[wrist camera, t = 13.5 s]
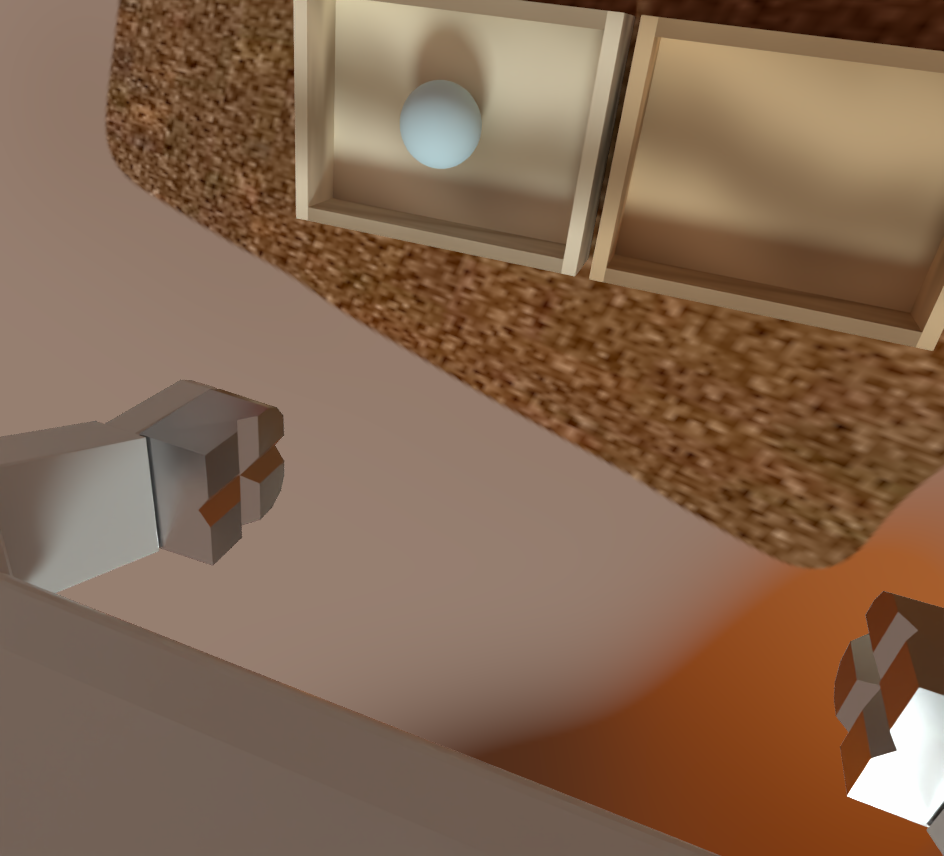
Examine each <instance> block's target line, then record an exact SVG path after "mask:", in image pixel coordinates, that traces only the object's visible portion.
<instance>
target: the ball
mask: <svg viewBox="0 0 944 856" xmlns="http://www.w3.org/2000/svg"><path fill="white" fill-rule="evenodd" d="M481 129H482V120H481V114H480V110H479V108H478V105H477V103H476V102H475V100H474V98H473V97H472V96H471V94H470V93H469V92H468V91H467V90H466V89H464V88H463V87H462V86H460V85H458V84H456V83H454V82H451V81H447V80H433V81H429V82H426V83H424V84H422V85H420V86H419V87H417V88H416V89H415V90H414V91H412V93H411V94H410V95H409V96H408V98H407V99H406V101H405V103H404V105H403V108H402V111H401V115H400V132H401V137H402V140H403V142H404V145H405V146H406V148H407V150H408V151H409V153H410V154H411V155H412V156H413V157H414V158H415V159H416V160H417V161H419V162H420V163H422V164H424V165H426V166H428V167H431V168H437V169H447V168H451V167H454V166H457V165H459V164H461V163H462V162H464V161H465V160H466V159H468V158H469V157H470V155H471V154H472V153H473V152H474V150H475V148H476V147H477V145H478V142H479V139H480V136H481Z"/></svg>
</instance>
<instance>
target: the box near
mask: <svg viewBox="0 0 944 856" xmlns="http://www.w3.org/2000/svg"><path fill="white" fill-rule="evenodd" d="M589 279H591V280H596V281H600V282H605V283H610V284H615V285H620V286H624V287H629V288H634V289H639V290H644V291H648V292H653V293H658V294H663V295H667V296H672V297H677V298H682V299H687V300H691V301H696V302H701V303H706V304H711V305H715V306H720V307H725V308H730V309H735V310H739V311H744V312H749V313H754V314H759V315H763V316H768V317H773V318H778V319H783V320H787V321H792V322H797V323H802V324H806V325H811V326H816V327H821V328H826V329H830V330H835V331H840V332H845V333H850V334H854V335H859V336H864V337H869V338H874V339H878V340H883V341H888V342H893V343H898V344H902V345H907V346H912V347H917V348H922V349H926V350H931V351H933V350H934V348H935V345H936V343H937V341H938V339H939V337H940V335H941V333H942V331H943V328H944V51H936V50H928V49H920V48H911V47H903V46H895V45H886V44H878V43H870V42H862V41H853V40H845V39H837V38H829V37H820V36H812V35H804V34H795V33H787V32H779V31H771V30H762V29H754V28H746V27H738V26H729V25H721V24H713V23H704V22H696V21H688V20H680V19H671V18H663V17H655V16H646V15H641V20H640V25H639V30H638V35H637V40H636V45H635V50H634V55H633V60H632V65H631V70H630V75H629V80H628V85H627V90H626V95H625V100H624V106H623V111H622V116H621V121H620V126H619V131H618V136H617V141H616V146H615V151H614V156H613V161H612V166H611V171H610V176H609V181H608V186H607V191H606V196H605V201H604V206H603V211H602V216H601V221H600V226H599V231H598V236H597V241H596V246H595V251H594V256H593V261H592V266H591V271H590V276H589Z"/></svg>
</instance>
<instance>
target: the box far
mask: <svg viewBox="0 0 944 856" xmlns="http://www.w3.org/2000/svg"><path fill="white" fill-rule="evenodd" d="M634 21H635V16H633V15H630V14H627V13H622V12H613V11H605V10H597V9H589V8H580V7H572V6H564V5H555V4H547V3H539V2H531V1H522V0H294V77H295V159H296V218H298V219H303V220H308V221H313V222H318V223H322V224H327V225H332V226H337V227H342V228H346V229H351V230H356V231H361V232H366V233H370V234H375V235H380V236H385V237H389V238H394V239H399V240H404V241H409V242H413V243H418V244H423V245H428V246H433V247H437V248H442V249H447V250H452V251H457V252H461V253H466V254H471V255H476V256H481V257H485V258H490V259H495V260H500V261H505V262H509V263H514V264H519V265H524V266H528V267H533V268H538V269H543V270H548V271H552V272H557V273H562V274H567V275H572V276H575V275H576V274H577V273H578V272H579V270H580V269H581V268H582V266H583V265H584V264H585V262H586V261H587V260H588V257H589V252H590V246H591V241H592V236H593V231H594V226H595V221H596V216H597V211H598V206H599V200H600V195H601V190H602V185H603V180H604V175H605V170H606V165H607V159H608V154H609V149H610V144H611V139H612V134H613V129H614V124H615V118H616V113H617V108H618V103H619V98H620V93H621V88H622V83H623V78H624V72H625V67H626V62H627V57H628V52H629V47H630V42H631V37H632V31H633V26H634ZM433 80H447V81H451V82H454V83H456V84H458V85H460V86H462V87H463V88H464V89H466V90H467V91H468V92H469V93H470V94H471V96H472V97H473V98H474V100H475V102H476V103H477V105H478V108H479V110H480V114H481V120H482V129H481V136H480V139H479V142H478V145H477V147H476V148H475V150H474V152H473V153H472V154H471V155H470V157H469V158H468V159H466V160H465V161H464V162H462V163H461V164H459V165H457V166H454V167H451V168H447V169H437V168H431V167H428V166H426V165H424V164H422V163H420V162H419V161H417V160H416V159H415V158H414V157H413V156H412V155H411V154H410V153H409V151H408V150H407V148H406V146H405V145H404V142H403V140H402V137H401V132H400V115H401V111H402V108H403V105H404V103H405V101H406V99H407V98H408V96H409V95H410V94H411V93H412V91H414V90H415V89H416V88H417V87H419V86H420V85H422V84H424V83H426V82H429V81H433Z"/></svg>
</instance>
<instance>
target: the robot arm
mask: <svg viewBox="0 0 944 856" xmlns="http://www.w3.org/2000/svg"><path fill="white" fill-rule="evenodd" d="M283 436H284V423H283V414H282V413H281V412H280V411H279V409H278V408H277V407H274V406H270V405H267V404H265V403H261V402H258V401H255V400H252V399H249V398H246V397H243V396H240V395H237V394H234V393H231V392H228V391H225V390H221V389H217V388H215V387H212V386H209V385H205V384H202V383H199V382H195V381H192V380H180V381H178V382H176V383H175V384H173V385H171V386H169V387H167V388H166V389H164V390H162V391H160V392H159V393H157V394H155V395H154V396H152V397H150V398H148V399H147V400H145V401H143V402H141V403H140V404H138V405H136V406H135V407H133V408H131V409H129V410H128V411H126V412H124V413H122V414H121V415H119V416H117V417H116V418H114V419H112V420H110V421H109V422H107V423H105V424H103V423H100V422H97V421H92V422H87V423H80V424H74V425H68V426H62V427H57V428H50V429H45V430H38V431H32V432H26V433H21V434H14V435H8V436H2V437H0V856H720V855H717V854H715V853H712V852H710V851H707V850H704V849H702V848H699V847H697V846H695V845H692V844H690V843H687V842H684V841H682V840H679V839H677V838H674V837H672V836H669V835H667V834H664V833H662V832H659V831H657V830H654V829H652V828H649V827H647V826H644V825H641V824H639V823H637V822H634V821H631V820H629V819H626V818H624V817H621V816H619V815H616V814H614V813H611V812H609V811H606V810H604V809H601V808H598V807H596V806H594V805H591V804H588V803H586V802H584V801H581V800H578V799H576V798H573V797H571V796H568V795H566V794H563V793H561V792H558V791H556V790H553V789H551V788H548V787H546V786H543V785H541V784H538V783H536V782H533V781H531V780H528V779H525V778H523V777H520V776H518V775H515V774H513V773H510V772H508V771H505V770H502V769H500V768H497V767H495V766H492V765H490V764H487V763H485V762H482V761H480V760H477V759H474V758H472V757H469V756H467V755H464V754H462V753H459V752H457V751H454V750H452V749H449V748H447V747H444V746H442V745H439V744H436V743H434V742H431V741H428V740H426V739H424V738H421V737H419V736H416V735H414V734H411V733H408V732H406V731H403V730H400V729H398V728H396V727H393V726H391V725H388V724H386V723H383V722H380V721H378V720H375V719H373V718H370V717H368V716H365V715H363V714H360V713H358V712H355V711H352V710H350V709H347V708H345V707H342V706H340V705H337V704H335V703H332V702H330V701H327V700H325V699H322V698H319V697H317V696H314V695H312V694H309V693H307V692H304V691H301V690H299V689H297V688H294V687H291V686H289V685H286V684H284V683H281V682H279V681H276V680H274V679H271V678H268V677H266V676H264V675H261V674H258V673H256V672H253V671H251V670H248V669H245V668H243V667H241V666H238V665H236V664H233V663H230V662H228V661H225V660H223V659H220V658H218V657H215V656H213V655H210V654H208V653H205V652H203V651H200V650H197V649H195V648H192V647H190V646H187V645H185V644H182V643H180V642H177V641H175V640H172V639H170V638H167V637H165V636H162V635H159V634H157V633H154V632H152V631H149V630H147V629H144V628H142V627H139V626H137V625H134V624H132V623H129V622H126V621H124V620H121V619H119V618H116V617H114V616H111V615H109V614H106V613H104V612H101V611H99V610H96V609H93V608H91V607H88V606H86V605H83V604H81V603H78V602H76V601H73V600H70V599H68V598H66V597H63V596H61V595H58V594H55V593H57V592H59V591H62V590H64V589H67V588H69V587H72V586H74V585H77V584H79V583H82V582H84V581H87V580H89V579H91V578H94V577H96V576H99V575H101V574H104V573H106V572H109V571H111V570H114V569H116V568H118V567H121V566H123V565H126V564H128V563H131V562H133V561H136V560H138V559H141V558H143V557H145V556H148V555H151V554H153V553H156V552H158V551H159V548H161V549H164V550H167V551H170V552H173V553H176V554H179V555H183V556H185V557H188V558H191V559H195V560H197V561H200V562H203V563H207V564H210V565H214V564H215V563H216V562H217V561H218V560H219V559H220V558H221V557H222V556H223V555H224V554H225V553H227V551H229V550H230V549H231V548H232V547H233V546H234V545H235V544H236V543H237V542H238V541H239V540H240V539H241V538H242V525H245V524H248V523H251V522H254V521H258V520H260V519H261V518H263V517H264V515H265V514H266V513H267V512H268V511H269V510H270V509H271V508H272V506H273V505H274V503H275V501H276V499H277V497H278V495H279V493H280V491H281V487H282V483H283V478H284V460H283V458H282V457H281V455H280V453H279V451H278V450H277V448H276V446H275V445H276V444H277V442H278V441H279V440H280V439H281V438H282V437H283ZM866 620H867V625H868V630H869V634H867V635H864V636H862V637H860V638H857V639H855V640H853V641H851V642H850V644H849V645H848V647H847V649H846V651H845V653H844V655H843V657H842V659H841V661H840V664H839V668H838V672H837V676H836V680H835V688H834V689H835V690H834V703H835V711H836V717H837V718H838V719H839V720H840V722H841V723H842V724H843V726H844V727H845V728H846V729H847V731H848V732H849V733H848V734H847V736H846V738H845V739H844V741H843V743H842V745H841V746H840V749H841V757H842V763H843V770H844V777H845V784H846V791H847V796H849V797H852V798H854V799H857V800H860V801H862V802H865V803H867V804H870V805H872V806H875V807H878V808H880V809H883V810H885V811H888V812H890V813H893V814H896V815H898V816H901V817H903V818H906V819H908V820H911V821H914V822H916V823H919V824H921V825H924V826H926V827H929V828H928V829H927V832H928V833H929V834H930V836H931V838H932V839H933V841H934V842H935V844H936V845H937V847H938V848H939V850H940V851H941V852H942V854H943V855H944V608H942V607H938V606H935V605H931V604H928V603H924V602H921V601H917V600H913V599H910V598H906V597H903V596H899V595H896V594H892V593H889V592H885V591H883V592H882V593H881V594H880V595H879V596H878V597H877V598H876V599H875V600H874V601H873V603H872V605H871V606H870V608H869V610H868V612H867V614H866Z"/></svg>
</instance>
